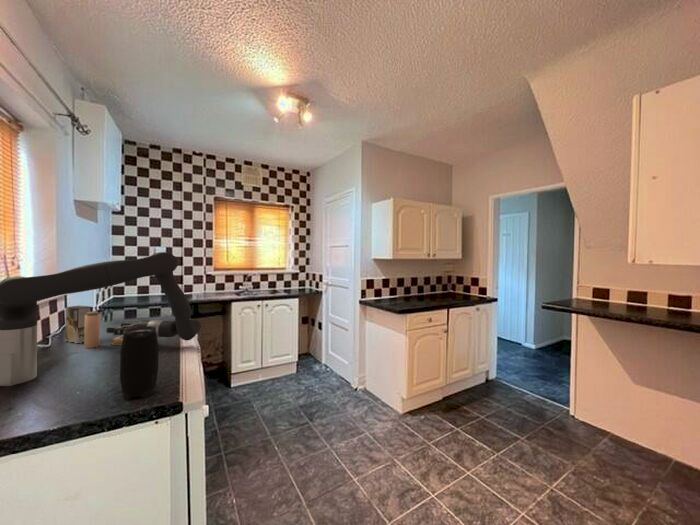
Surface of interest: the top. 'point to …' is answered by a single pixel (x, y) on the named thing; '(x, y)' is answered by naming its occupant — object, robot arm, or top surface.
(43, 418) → the top surface
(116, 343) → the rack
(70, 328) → the coffee box
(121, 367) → the portable speaker
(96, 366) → the top surface
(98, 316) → the jar
